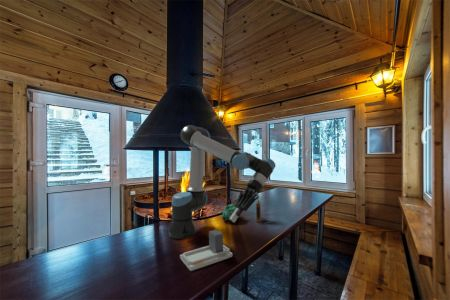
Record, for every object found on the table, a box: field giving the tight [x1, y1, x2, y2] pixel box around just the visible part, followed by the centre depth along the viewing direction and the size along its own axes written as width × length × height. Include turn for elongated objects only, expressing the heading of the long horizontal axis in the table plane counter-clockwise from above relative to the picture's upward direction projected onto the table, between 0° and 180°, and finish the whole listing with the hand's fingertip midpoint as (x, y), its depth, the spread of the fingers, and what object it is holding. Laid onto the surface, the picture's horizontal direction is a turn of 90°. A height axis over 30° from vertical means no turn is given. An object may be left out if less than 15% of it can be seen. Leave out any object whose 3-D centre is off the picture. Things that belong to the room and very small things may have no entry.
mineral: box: [221, 203, 240, 222], centre depth 140 cm, size 18×16×10 cm
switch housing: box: [179, 244, 233, 272], centre depth 87 cm, size 20×12×2 cm, turn 122°
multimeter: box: [255, 192, 270, 225], centre depth 136 cm, size 15×10×20 cm
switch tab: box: [208, 229, 224, 254], centre depth 90 cm, size 4×6×8 cm, turn 33°
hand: (231, 220), depth 95 cm, fingers closed
